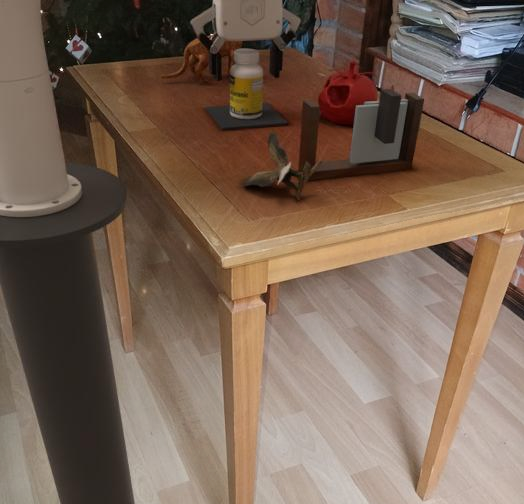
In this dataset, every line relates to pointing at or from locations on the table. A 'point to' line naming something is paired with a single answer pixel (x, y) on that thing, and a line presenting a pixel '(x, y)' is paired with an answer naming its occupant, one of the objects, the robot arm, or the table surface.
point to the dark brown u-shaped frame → (344, 166)
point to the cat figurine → (204, 58)
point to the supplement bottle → (246, 85)
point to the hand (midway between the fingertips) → (245, 77)
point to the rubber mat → (229, 122)
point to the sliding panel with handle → (378, 129)
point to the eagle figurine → (282, 169)
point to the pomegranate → (345, 94)
